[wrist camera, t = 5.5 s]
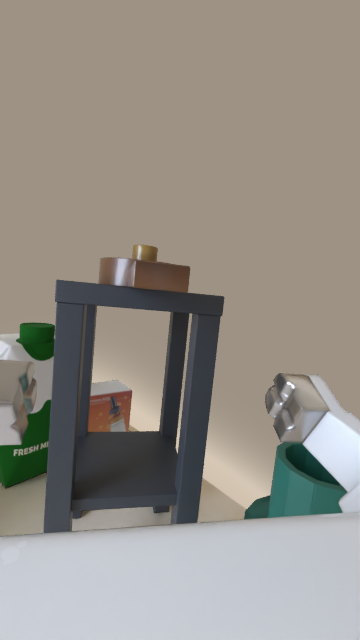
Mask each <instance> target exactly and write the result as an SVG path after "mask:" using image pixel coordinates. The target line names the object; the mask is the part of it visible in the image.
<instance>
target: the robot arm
mask: <svg viewBox="0 0 360 640" xmlns="http://www.w3.org/2000/svg"><path fill="white" fill-rule="evenodd" d="M34 372H35V368H34V363H33V362H28V361H14V360H0V445H21V444H22V441H23V438H24V435H25V432H26V429H27V426H28V420H27V415H28V414H29V413H31V412H32V411H33V408H34V405H35V401H36V395H37V382H36V380H35V379H34V378H33V374H34ZM273 381H274V384H275V385H274V386H272V387H270V388H269V389H268V392H267V393H266V397H265V404H266V409H267V411H268V414H269V415H270V416H271V417H273V419H275V421H274V425H273V426H274V428H275V430H276V433H277V435H278V437H279V439H280V442H286V443H303V445H304V446H305V447H306V448H307V450H308V451H309V452H310V453H311V454H312V455H313V456H314V457H315V458H316V459H317V460H318V461H319V462H320V463H321V464H322V465H323V466H324V467H325V468H326V469H327V471H328V472H329V473H330V474H331V475H332V476H333V477H334V478H335V479H336V480H337V481H338V482H339V483H340V484H341V485H342V486H343V487H344V488H345V489H346V490H347V492H348V493H346V494H345V495H344V496H343V497H342V498H341V499H340V500H339V505H340V507H341V510H342V512H343V513H333V514H318V515H303V516H289V517H274V518H260V519H245V520H230V521H216V522H201V523H186V524H172V525H157V526H143V527H128V528H114V529H99V530H85V531H70V532H56V533H41V534H26V535H12V536H0V640H360V420H359V419H358V418H357V417H355V416H354V415H352V414H351V413H350V412H345V411H344V410H343V408H342V407H341V405H340V404H339V403H338V401H337V399H336V398H335V397H334V395H333V393H332V392H331V391H330V389H329V388H328V386H327V385H326V383H325V382H324V380H323V379H322V378H321V377H320V376H319V375H311V374H287V373H286V374H285V373H279V374H278V375H276V377H275V378H274V380H273Z"/></svg>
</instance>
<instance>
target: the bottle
mask: <svg viewBox="0 0 360 640" xmlns="http://www.w3.org/2000/svg"><path fill="white" fill-rule="evenodd" d="M346 493H348V492H347V490H346V489H345V488H344V487H343V486H342V485H341V484H340V483H339V482H338V481H337V480H336V479H335V478H334V477H333V476H332V475H331V474H330V473H329V472H328V471H327V469H326V468H325V467H324V466H323V465H322V464H321V463H320V462H319V461H318V460H317V459H316V458H315V457H314V456H313V455H312V454H311V453H310V452H309V451H308V450H307V448H306V447H305V446H304V445H303V443H286V442H284V443H282V444H280V445H278V446H277V451H276V458H275V466H274V473H273V480H272V488H271V494H270V496H267V497H263V498H260V499H257V500H255V501H254V502H253V503H252V505H251V506H250V507H249V508H248V509H247V510H246V512H245V517H244V520H245V519H260V518H274V517H289V516H303V515H318V514H333V513H343V512H342V510H341V507H340V505H339V500H340V499H341V498H342V497H343V496H344V495H345V494H346Z"/></svg>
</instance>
